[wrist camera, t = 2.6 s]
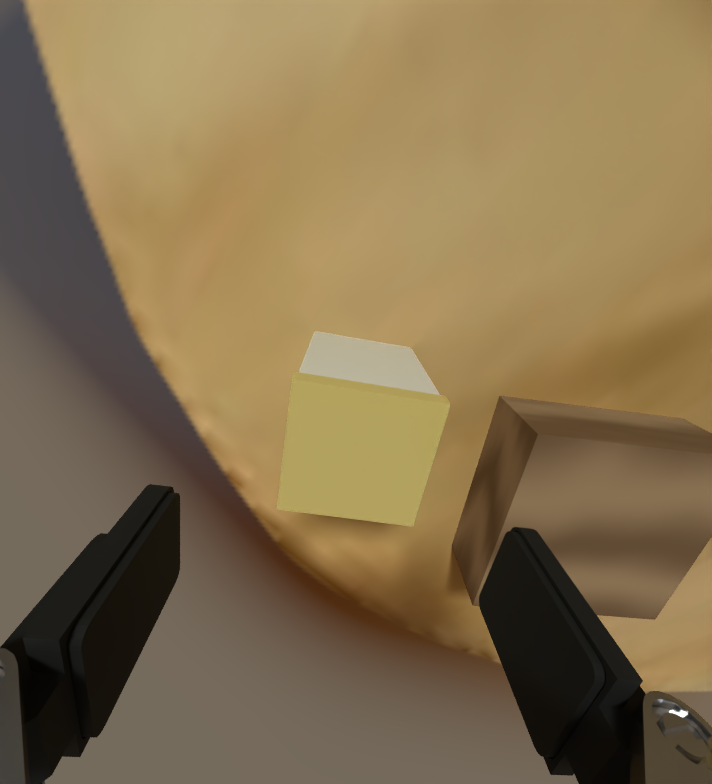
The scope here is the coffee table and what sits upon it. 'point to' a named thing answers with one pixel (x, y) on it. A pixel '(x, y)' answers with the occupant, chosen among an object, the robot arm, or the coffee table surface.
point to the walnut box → (592, 500)
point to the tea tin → (360, 431)
